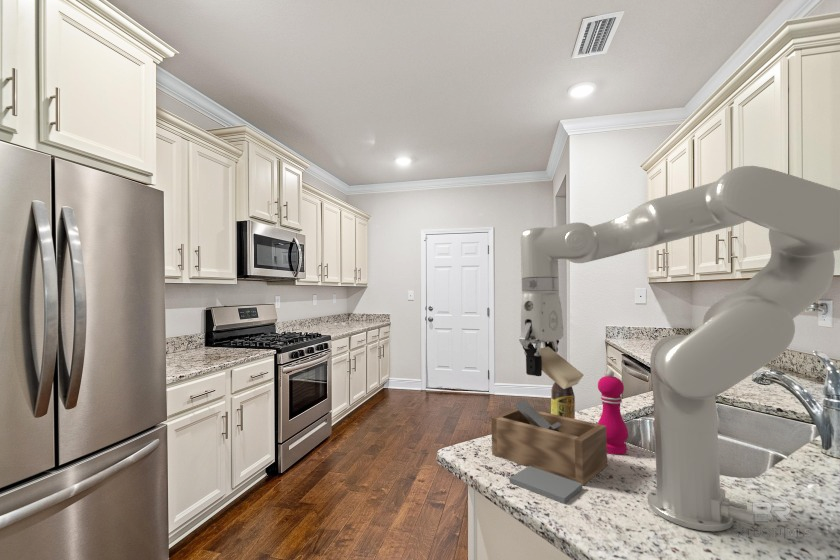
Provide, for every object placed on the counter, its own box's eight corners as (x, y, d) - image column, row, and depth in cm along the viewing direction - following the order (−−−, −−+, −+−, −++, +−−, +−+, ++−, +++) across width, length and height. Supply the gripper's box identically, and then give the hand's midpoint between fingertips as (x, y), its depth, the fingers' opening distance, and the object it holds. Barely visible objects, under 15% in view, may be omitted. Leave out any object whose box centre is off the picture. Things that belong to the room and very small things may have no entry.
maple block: (577, 384, 79) (583, 374, 78) (563, 389, 74) (570, 379, 74) (542, 355, 84) (548, 346, 83) (528, 358, 80) (534, 349, 79)
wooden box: (607, 465, 89) (606, 425, 89) (583, 485, 80) (581, 441, 80) (520, 440, 105) (519, 406, 106) (492, 454, 96) (491, 417, 96)
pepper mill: (633, 456, 94) (630, 373, 95) (601, 454, 95) (598, 372, 96) (623, 445, 101) (621, 368, 102) (594, 443, 102) (591, 367, 103)
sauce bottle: (560, 442, 103) (557, 367, 104) (546, 434, 109) (544, 363, 110) (580, 439, 105) (578, 365, 106) (566, 432, 111) (564, 362, 112)
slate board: (582, 488, 78) (582, 483, 78) (564, 503, 73) (564, 498, 73) (529, 470, 87) (529, 465, 87) (509, 482, 81) (509, 477, 82)
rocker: (582, 459, 90) (591, 447, 88) (570, 467, 85) (580, 455, 84) (523, 403, 101) (531, 391, 99) (511, 407, 97) (518, 396, 95)
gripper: (535, 285, 73) (537, 382, 72) (575, 286, 85) (577, 369, 84) (501, 286, 79) (503, 376, 78) (543, 287, 90) (545, 365, 90)
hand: (542, 372), depth 81 cm, fingers closed on maple block, 6 cm apart
